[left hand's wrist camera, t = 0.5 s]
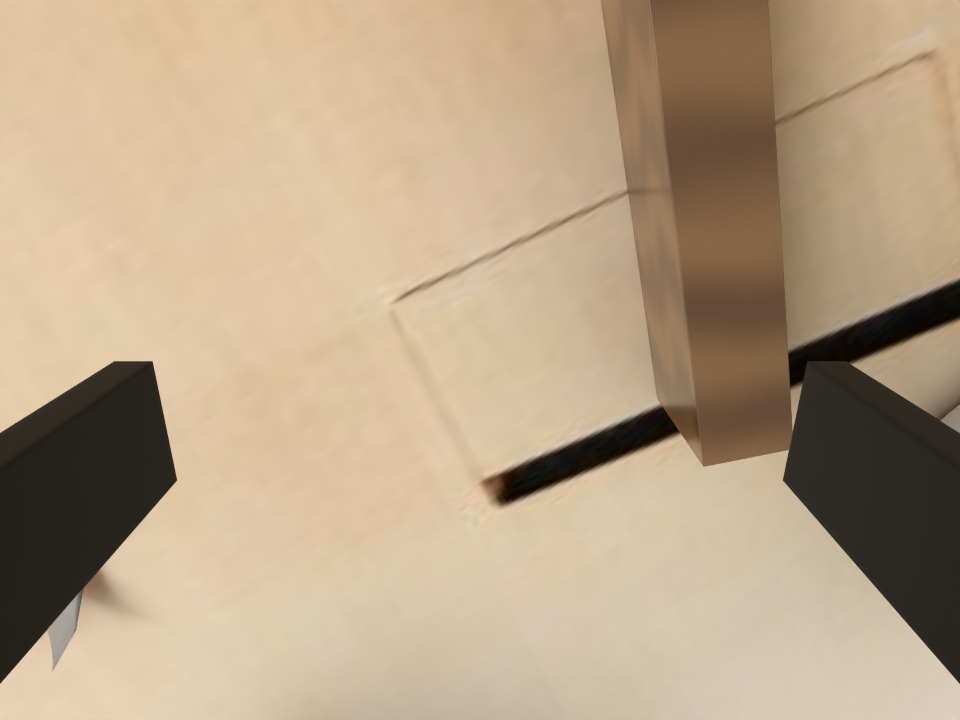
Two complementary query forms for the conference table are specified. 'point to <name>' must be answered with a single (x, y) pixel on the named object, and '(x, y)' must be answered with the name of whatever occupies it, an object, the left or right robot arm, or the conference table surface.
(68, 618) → the fish
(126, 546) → the conference table surface
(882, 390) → the left robot arm
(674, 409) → the bar
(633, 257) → the conference table surface
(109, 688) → the conference table surface
